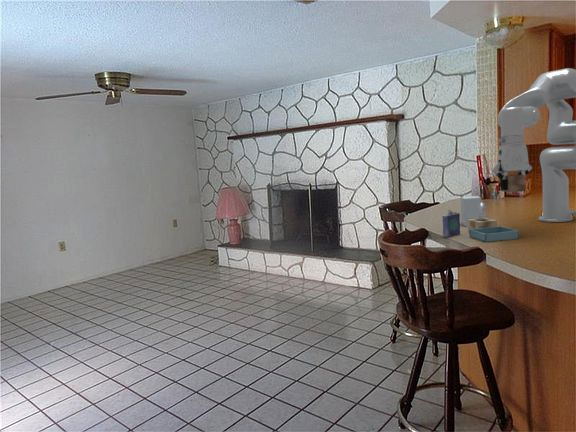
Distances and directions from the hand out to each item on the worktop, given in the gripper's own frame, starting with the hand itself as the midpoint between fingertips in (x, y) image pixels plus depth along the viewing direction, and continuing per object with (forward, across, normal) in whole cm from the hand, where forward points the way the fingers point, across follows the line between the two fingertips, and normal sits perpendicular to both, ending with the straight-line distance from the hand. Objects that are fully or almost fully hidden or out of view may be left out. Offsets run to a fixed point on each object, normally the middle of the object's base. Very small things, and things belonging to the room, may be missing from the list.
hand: (512, 188), depth 159 cm
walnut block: (+1, 0, 0) cm, 1 cm away
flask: (+19, -18, +12) cm, 29 cm away
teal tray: (+18, -8, +1) cm, 20 cm away
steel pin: (+18, -5, +12) cm, 23 cm away
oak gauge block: (+18, -5, +12) cm, 23 cm away
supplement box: (+18, +1, +29) cm, 35 cm away
